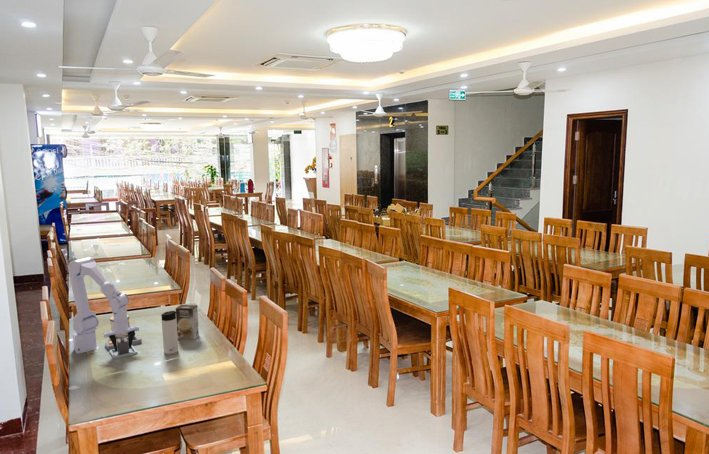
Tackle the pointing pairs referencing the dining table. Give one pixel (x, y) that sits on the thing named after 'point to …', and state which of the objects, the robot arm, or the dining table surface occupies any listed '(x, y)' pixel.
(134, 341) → the power strip
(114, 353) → the tray
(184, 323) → the coffee box
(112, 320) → the teacup with lid
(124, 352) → the plug
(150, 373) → the dining table surface
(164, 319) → the travel mug
